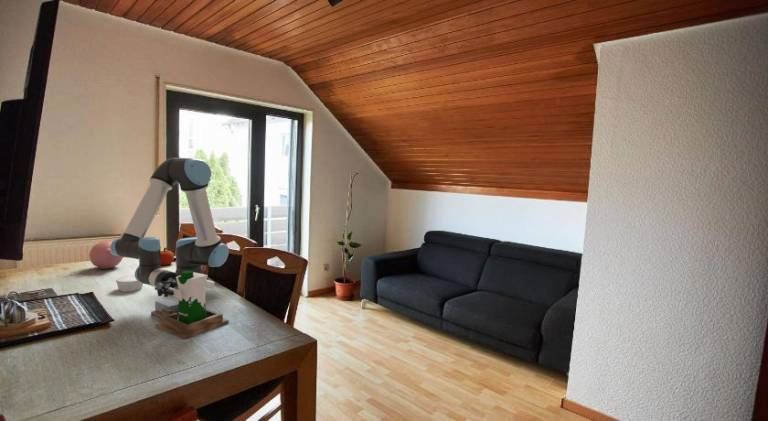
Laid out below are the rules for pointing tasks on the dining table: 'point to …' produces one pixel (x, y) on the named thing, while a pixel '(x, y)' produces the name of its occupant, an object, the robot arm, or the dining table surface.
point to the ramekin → (128, 283)
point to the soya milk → (192, 296)
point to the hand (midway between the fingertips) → (197, 290)
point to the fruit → (166, 257)
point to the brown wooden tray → (188, 330)
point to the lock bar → (166, 305)
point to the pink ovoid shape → (103, 255)
